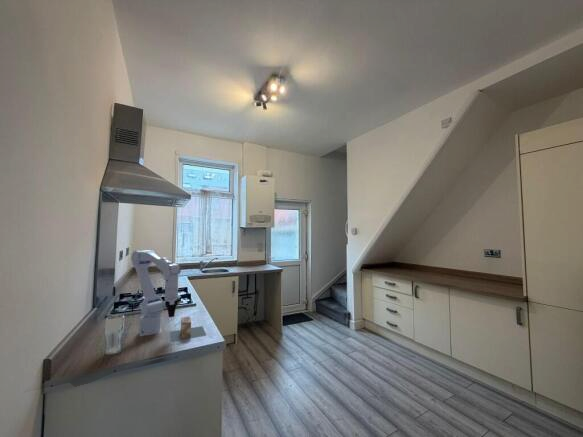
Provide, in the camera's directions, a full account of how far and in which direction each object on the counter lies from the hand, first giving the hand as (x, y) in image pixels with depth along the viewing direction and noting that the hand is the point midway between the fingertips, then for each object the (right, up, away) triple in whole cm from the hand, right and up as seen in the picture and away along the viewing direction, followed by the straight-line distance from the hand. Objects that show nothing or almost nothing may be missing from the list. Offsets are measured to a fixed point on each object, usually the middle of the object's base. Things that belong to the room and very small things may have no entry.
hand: (171, 316), depth 121 cm
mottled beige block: (+6, -10, +3) cm, 12 cm away
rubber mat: (+7, -11, +3) cm, 13 cm away
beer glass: (-18, -10, -14) cm, 25 cm away
